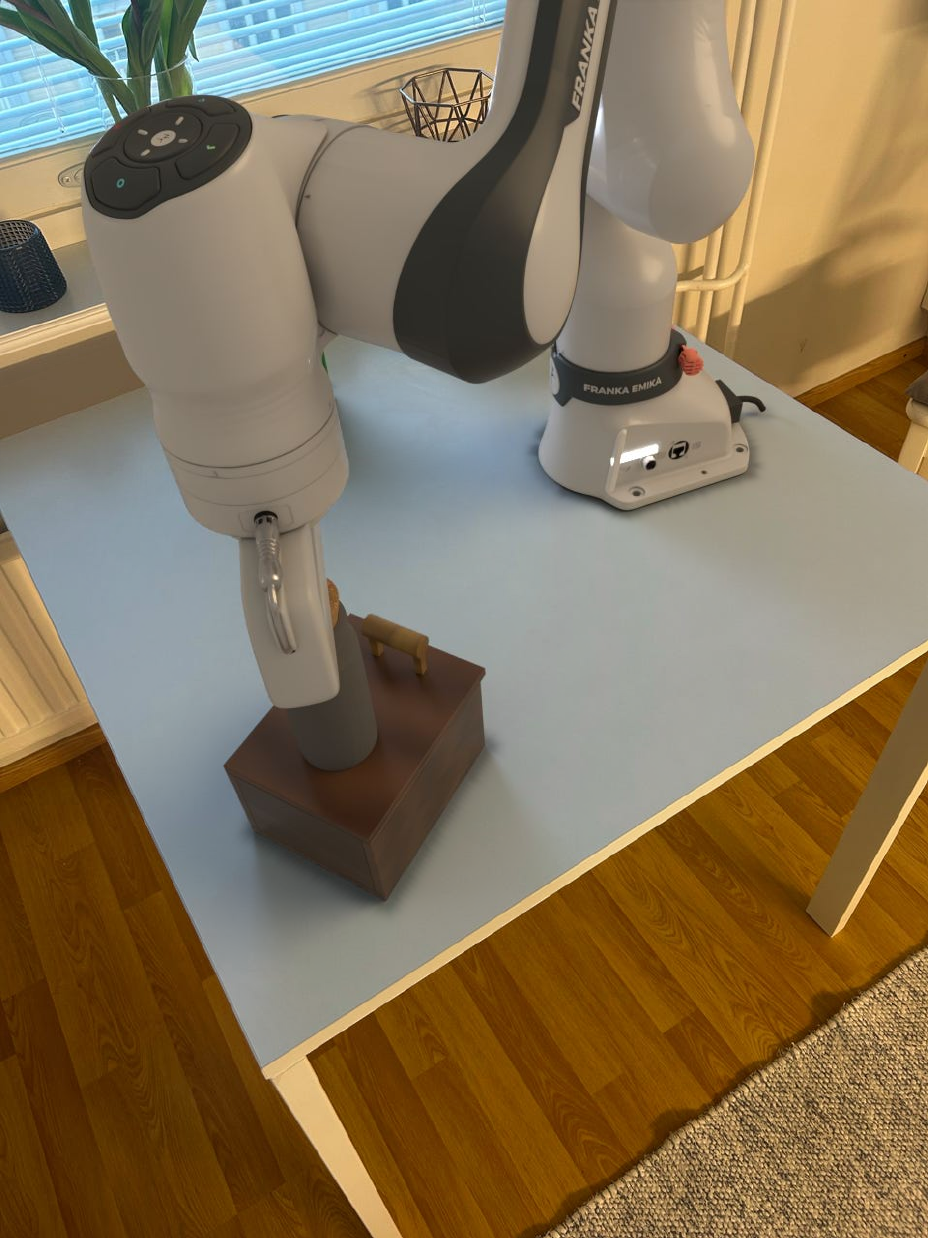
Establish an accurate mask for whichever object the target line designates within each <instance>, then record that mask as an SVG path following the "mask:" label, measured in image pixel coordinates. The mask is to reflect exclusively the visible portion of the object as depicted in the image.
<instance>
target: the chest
mask: <svg viewBox="0 0 928 1238" xmlns="http://www.w3.org/2000/svg"><path fill="white" fill-rule="evenodd" d="M482 695H483V694H482V681H481V682H480V683H479V685H478V686H477V688H476V689H475V691H474V692H473V694H472V695H471V697H470V698H469V700H468V701H467V703H466V704H465V706H464V707H463V709H462V710H461V712H460V713H459V715H458V716H457V718H456V719H455V720H454V722H453V723H452V725H451V726H450V728H449V729H448V731H447V732H446V734H445V735H444V737H443V738H442V740H441V741H440V743H439V744H438V746H437V747H436V749H435V750H434V752H433V753H432V755H431V756H430V758H429V759H428V760H427V762H426V763H425V765H424V766H423V768H422V769H421V771H420V772H419V774H418V775H417V777H416V778H415V780H414V781H413V783H412V784H411V786H410V787H409V789H408V790H407V792H406V793H405V795H404V796H403V798H402V799H401V800H400V802H399V803H398V805H397V806H396V808H395V809H394V811H393V812H392V814H391V815H390V817H389V818H388V820H387V821H386V823H385V824H384V826H383V827H382V829H381V830H380V832H379V833H378V835H377V836H376V838H375V839H374V840H373V842H372V843H371V845H369V844H367V843H365V842H363V841H361V840H359V839H357V838H355V837H353V836H351V835H350V834H348V833H346V832H344V831H342V830H340V829H338V828H336V827H334V826H332V825H330V824H328V823H326V822H324V821H322V820H320V819H318V818H316V817H314V816H312V815H310V814H308V813H306V812H304V811H302V810H301V809H299V808H297V807H295V806H293V805H291V804H289V803H287V802H285V801H283V800H281V799H279V798H277V797H275V796H273V795H271V794H269V793H267V792H265V791H263V790H261V789H259V788H257V787H255V786H253V785H252V784H250V783H248V782H246V781H244V780H242V779H240V778H238V777H236V776H234V775H232V774H230V773H228V772H226V771H225V773H226V775H227V777H228V779H229V782H230V783H231V786H232V788H233V790H234V792H235V794H236V796H237V798H238V801H239V803H240V805H241V807H242V809H243V811H244V814H245V816H246V818H247V821H248V822H249V824H250V826H251V828H252V831H253V832H255V833H257V834H259V835H261V836H263V837H265V838H267V839H269V840H271V841H272V842H274V843H276V844H278V845H280V846H282V847H284V848H286V849H287V850H289V851H291V852H292V853H295V854H297V855H299V856H300V857H302V858H304V859H306V860H308V861H310V862H312V863H313V864H315V865H317V866H319V867H322V868H323V869H325V870H327V871H328V872H330V873H333V875H336V876H338V877H340V878H342V879H343V880H345V881H348V882H349V883H351V884H352V885H355V886H357V887H359V888H360V889H363V891H366V892H368V893H370V894H371V895H374V896H376V897H378V898H379V899H381V900H383V901H385V902H386V901H387V900H388V899H389V897H390V895H391V894H392V892H393V891H394V889H395V887H396V886H397V885H398V883H399V882H400V880H401V878H402V876H403V875H404V873H405V872H406V870H407V869H408V867H409V866H410V865H411V863H412V861H413V859H415V857H416V856H417V855H416V854H417V853H418V852H419V850H420V849H421V847H422V845H423V844H424V842H425V841H426V839H427V837H428V836H429V834H430V833H431V831H432V830H433V828H434V827H435V825H436V823H437V822H438V820H439V818H440V817H441V815H442V814H443V812H444V811H445V809H446V808H447V806H448V805H449V803H450V801H451V799H452V798H453V796H454V795H455V794H456V792H457V790H458V788H459V787H460V785H461V784H462V782H463V781H464V779H465V778H466V776H467V775H468V773H469V771H470V770H471V768H472V767H473V765H474V764H475V762H476V760H477V759H478V757H479V755H480V754H481V752H482V751H483V750H484V748H485V746H486V739H485V737H486V736H485V724H484V722H485V721H484V710H483V709H484V708H483V696H482Z"/></svg>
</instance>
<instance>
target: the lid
mask: <svg viewBox="0 0 928 1238" xmlns="http://www.w3.org/2000/svg"><path fill="white" fill-rule="evenodd" d="M347 616H348V623H349V624H350V625H351V626H352V627H353V629H354V630H355V632H356V634H357V637H358V641H359V645H360V649H361V654H362V658H363V663H364V668H365V672H366V677H367V681H368V686H369V691H370V695H371V700H372V704H373V709H374V714H375V719H376V724H377V741H376V744H375V746H374V748H373V750H372V752H371V753H370V754H369V756H368V757H367V758H366V759H364V760H363V761H362V762H360V763H359V764H357V765H356V766H354V767H351V768H348V769H345V770H340V771H328V770H323V769H320V768H317V767H315V766H313V765H311V764H310V763H309V762H307V760H306V759H305V758H304V757H303V755H302V754H301V752H300V749H299V747H298V744H297V741H296V738H295V735H294V733H293V730H292V727H291V724H290V721H289V718H288V715H287V712H286V709H285V708H278V707H276V706H274V705H273V704H272V706H271V708H270V709H269V710H268V711H267V712H266V714H264V716H263V718H261V720H260V721H259V722H258V723H257V724H256V725H255V727H254V728H253V729H252V730H251V731H250V733H249V734H248V735H247V737H246V738H245V739H244V740H243V741H242V742H241V744H240V745H238V747H237V749H236V750H235V751H234V752H233V753H232V755H230V757H229V758H228V760H227V761H226V762H225V763H224V764H223V768H224V771H225V773H226V772H228V773H230V774H232V775H234V776H236V777H238V778H240V779H242V780H244V781H246V782H248V783H250V784H252V785H253V786H255V787H257V788H259V789H261V790H263V791H265V792H267V793H269V794H271V795H273V796H275V797H277V798H279V799H281V800H283V801H285V802H287V803H289V804H291V805H293V806H295V807H297V808H299V809H301V810H302V811H304V812H306V813H308V814H310V815H312V816H314V817H316V818H318V819H320V820H322V821H324V822H326V823H328V824H330V825H332V826H334V827H336V828H338V829H340V830H342V831H344V832H346V833H348V834H350V835H351V836H353V837H355V838H357V839H359V840H361V841H363V842H365V843H367V844H369V845H371V843H372V842H373V840H374V839H375V838H376V836H377V835H378V833H379V832H380V830H381V829H382V827H383V826H384V824H385V823H386V821H387V820H388V818H389V817H390V815H391V814H392V812H393V811H394V809H395V808H396V806H397V805H398V803H399V802H400V800H401V799H402V798H403V796H404V795H405V793H406V792H407V790H408V789H409V787H410V786H411V784H412V783H413V781H414V780H415V778H416V777H417V775H418V774H419V772H420V771H421V769H422V768H423V766H424V765H425V763H426V762H427V760H428V759H429V758H430V756H431V755H432V753H433V752H434V750H435V749H436V747H437V746H438V744H439V743H440V741H441V740H442V738H443V737H444V735H445V734H446V732H447V731H448V729H449V728H450V726H451V725H452V723H453V722H454V720H455V719H456V718H457V716H458V715H459V713H460V712H461V710H462V709H463V707H464V706H465V704H466V703H467V701H468V700H469V698H470V697H471V695H472V694H473V692H474V691H475V689H476V688H477V686H478V685H479V683H480V682H481V683H482V680H484V678H485V676H486V674H487V673H486V672H487V671H486V668H485V667H483V666H481V665H479V664H476V663H473V662H472V661H469V660H467V659H464V658H461V657H459V656H456V655H454V654H451V653H449V652H446V651H444V650H442V649H439V648H437V647H434V646H433V645H430V644H429V643H430V639H429V636H428V635H426V634H423V633H421V632H418V631H415V630H413V629H411V628H408V627H405V626H403V625H402V624H399V623H396V622H393V621H391V620H389V619H386V618H383V617H382V616H379V615H376V614H373V613H369V614H367V615H366V616H365V617H364V618H363V617H361V616H359V615H356V614H354V613H348V614H347Z"/></svg>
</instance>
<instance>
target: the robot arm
mask: <svg viewBox="0 0 928 1238" xmlns="http://www.w3.org/2000/svg"><path fill="white" fill-rule="evenodd" d="M726 19H727V18H726V0H506V2H505V9H504V15H503V21H502V26H501V27H502V28H501V34H500V39H499V46H498V51H497V57H496V64H495V68H494V69H495V70H494V74H493V81H492V88H491V92H490V93H491V94H490V100H489V105H488V109H487V110H488V111H487V114H486V116H485V119H484V120H483V123H482V124H481V125H480V127H479V128H477V129H476V130H475V132H473V133H471V134H470V136H468V137H466V138H464V139H461V140H459V141H456V142H448V141H442V140H438V139H431V138H426V137H421V136H417V135H416V136H415V135H410V134H407V133H400V132H395V131H389V130H385V129H380V128H379V127H375V126H372V125H369V124H365V123H359V122H353V121H349V120H344V119H338V118H332V117H325V116H319V115H314V114H304V113H300V114H299V113H297V114H296V113H295V114H278V115H273V116H266V115H263V114H258V113H254V112H252V111H249V110H248V109H247V108H246V107H245V106H244V105H242V103H241V104H240V103H239V102H237V101H235V100H233V99H230V98H227V97H225V96H220V95H214V94H187V95H181V96H176V97H172V98H168V99H165V100H162V101H158V102H155V103H152V104H150V105H148V106H143V107H141V108H139V109H137V110H135V111H132V112H131V113H129V114H127V115H126V116H124V117H123V118H121V119H120V120H119V121H118V122H116V123H115V124H113V125H112V126H111V127H110V128H108V130H107V131H106V132H105V133H104V134H103V135H102V136H101V137H100V138H99V139H98V140H97V141H96V143H95V144H94V145H93V146H92V148H91V149H90V151H89V153H88V154H87V156H86V158H85V161H84V163H83V166H82V172H81V178H80V179H81V180H80V199H81V200H80V201H81V216H82V222H83V229H84V233H85V234H84V235H85V238H86V243H87V245H88V246H87V247H88V251H89V255H90V259H91V263H92V267H93V270H94V273H95V277H96V279H97V283H98V286H99V289H100V292H101V295H102V298H103V301H104V304H105V307H106V309H107V312H108V315H109V318H110V321H111V323H112V326H113V328H114V331H115V334H116V336H117V338H118V341H119V344H120V346H121V348H122V351H123V353H124V356H125V359H126V360H127V363H128V365H129V366H130V368H131V369H132V371H133V372H134V373H135V375H136V376H137V378H139V380H140V381H141V382H142V383H143V384H144V386H145V387H146V389H147V391H148V392H149V395H150V398H151V402H152V419H153V420H152V421H153V427H154V430H155V433H156V436H157V439H158V441H159V443H160V446H161V448H162V451H163V454H164V456H165V458H166V462H167V463H168V466H169V468H170V471H171V473H172V476H173V478H174V482H175V483H176V486H177V488H178V491H179V494H180V495H181V499H182V501H183V503H184V505H185V508H186V510H187V512H188V513H189V515H190V517H192V518H193V519H194V521H196V522H197V523H198V524H200V525H201V526H202V527H204V528H206V529H208V530H209V531H212V532H214V533H216V534H220V535H223V536H229V537H231V538H233V539H235V540H238V553H239V554H238V556H239V558H238V559H239V578H240V595H241V604H242V611H243V617H244V620H245V621H244V622H245V626H246V630H247V634H248V637H249V641H250V645H251V648H252V652H253V654H254V657H255V660H256V664H257V666H258V670H259V673H260V676H261V679H262V682H263V685H264V687H265V691H266V694H267V697H268V699H269V701H270V703H271V704H272V706H273V705H274V706H276V707H278V708H296V707H303V706H309V705H313V704H317V703H321V702H324V701H327V700H330V699H332V698H334V697H335V696H336V695H337V694H338V693H339V689H340V683H339V672H338V664H337V656H336V649H335V641H334V633H333V625H332V617H331V609H330V602H329V594H328V586H327V578H328V577H327V571H326V564H325V556H324V547H323V539H322V532H321V524H320V522H321V520H323V518H324V517H325V516H326V514H327V512H328V511H329V509H330V508H331V507H333V505H334V504H335V503H337V501H338V499H339V498H340V497H341V496H342V494H343V492H344V490H345V488H346V486H347V483H348V480H349V475H350V463H349V459H348V458H349V457H348V454H347V449H346V444H345V439H344V435H343V430H342V426H341V421H340V415H339V412H338V407H337V402H336V396H335V391H334V388H333V385H332V382H331V379H330V376H329V373H328V374H327V372H328V371H327V372H326V370H325V369H324V367H323V364H322V353H323V351H324V350H325V349H326V347H327V346H328V345H329V344H330V343H331V342H333V341H334V340H335V339H336V338H338V337H339V335H341V336H343V337H347V338H350V339H353V340H357V341H359V342H364V343H366V344H371V345H373V346H378V347H381V348H384V349H387V350H391V351H394V352H397V353H401V354H404V355H405V356H406V357H407V358H409V359H411V360H413V361H415V362H418V363H421V364H423V365H425V366H427V367H430V368H432V369H435V370H437V371H438V372H439V371H440V372H442V373H445V374H447V375H449V376H452V377H454V378H456V379H459V380H462V381H463V382H466V383H468V384H472V385H482V384H486V383H488V382H491V381H494V380H496V379H499V378H500V377H501V378H502V377H503V376H506V375H508V374H510V373H512V372H514V371H516V370H518V369H520V368H522V367H524V366H525V365H527V364H528V363H530V362H532V361H534V360H535V359H537V358H538V357H539V356H541V355H542V354H543V353H544V352H546V351H547V350H548V349H549V348H550V357H549V386H550V387H549V388H550V392H551V401H550V407H549V413H548V417H547V421H546V426H545V429H544V432H543V435H542V438H541V439H540V442H539V445H538V454H537V455H538V460H539V464H540V465H541V467H542V469H543V470H544V473H545V474H547V476H549V477H550V478H551V480H552V481H554V482H556V483H557V484H559V485H560V486H562V487H564V488H566V489H568V490H570V491H572V492H576V493H578V494H582V495H586V496H591V497H594V498H598V499H601V500H602V501H604V502H606V503H608V504H609V505H611V506H613V507H614V508H616V509H619V510H622V511H632V510H634V509H635V510H636V509H638V508H641V507H644V506H647V505H650V504H653V503H656V502H660V501H662V500H667V499H669V498H672V497H675V496H678V495H681V494H684V493H687V492H691V491H694V490H697V489H700V488H703V487H707V486H709V485H712V484H715V483H719V482H721V481H724V480H727V479H730V478H733V477H737V476H739V475H742V474H744V473H746V472H747V471H748V467H749V463H750V446H749V442H748V439H747V436H746V434H745V431H744V429H743V428H742V427H741V424H740V423H739V422H740V419H741V415H742V410H743V405H744V403H750V404H753V405H754V406H756V407H757V409H758V411H759V412H760V413H764V412H765V411H766V410H767V407H766V405H764V403H763V401H762V400H761V399H760V398H758V397H756V396H753V395H736V394H735V393H734V391H732V389H731V388H729V386H728V385H727V384H726V383H725V382H724V381H723V380H722V379H717V380H715V379H714V378H712V376H711V374H709V373H708V372H707V371H705V370H704V369H703V367H704V366H705V365H704V360H703V359H702V358H701V356H699V352H698V351H697V349H694V348H687V344H688V343H687V340H686V338H685V337H684V335H683V334H682V333H681V332H679V331H677V330H676V328H675V326H674V325H673V318H674V317H673V316H674V310H675V309H674V308H675V301H676V294H677V287H678V286H677V285H678V278H679V277H678V275H679V271H678V262H677V256H676V253H675V250H674V247H673V245H672V244H674V245H689V244H693V243H696V242H697V243H698V242H699V241H702V240H703V239H706V238H708V237H710V236H711V235H712V234H714V233H715V232H716V231H718V230H719V229H721V228H722V226H723V225H725V224H726V223H727V222H728V221H729V220H730V219H731V218H732V217H733V215H734V214H735V213H736V212H737V210H738V209H739V207H740V205H741V204H742V203H743V200H744V198H745V196H746V194H747V192H748V190H749V187H750V184H751V181H752V178H753V174H754V168H755V161H756V160H755V156H756V155H755V154H756V153H755V145H754V142H753V139H752V136H751V133H750V130H749V129H748V127H747V124H746V122H745V120H744V118H743V115H742V113H741V110H740V107H739V104H738V101H737V97H736V92H735V89H734V83H733V77H732V71H731V63H730V54H729V44H728V33H727V21H726ZM326 577H327V578H326Z"/></svg>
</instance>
